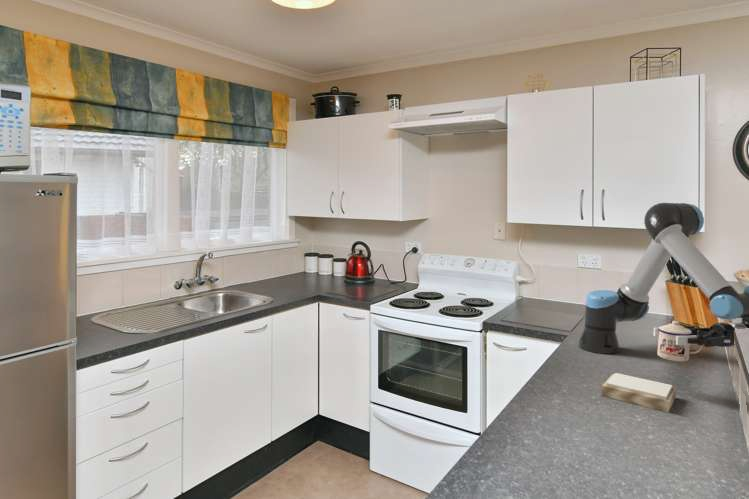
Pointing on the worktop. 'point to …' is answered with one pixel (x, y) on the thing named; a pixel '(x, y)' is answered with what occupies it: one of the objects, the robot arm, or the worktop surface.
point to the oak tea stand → (639, 391)
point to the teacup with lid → (674, 342)
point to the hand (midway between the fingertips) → (665, 335)
